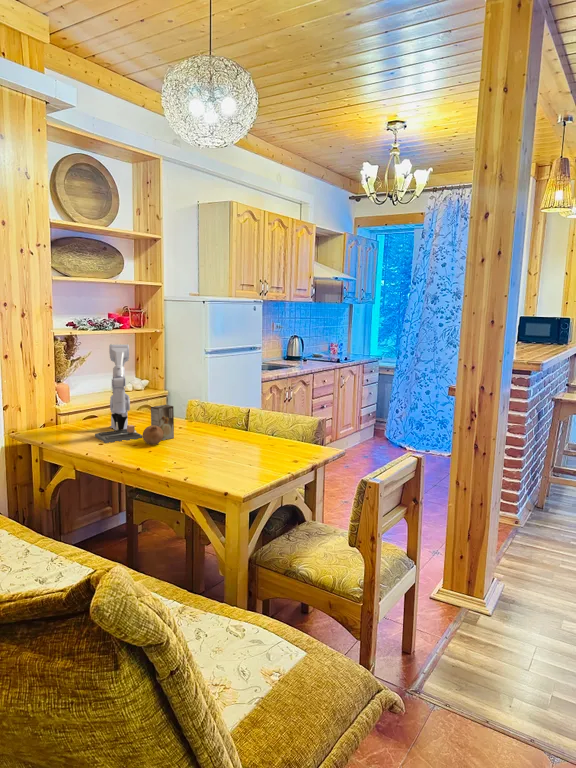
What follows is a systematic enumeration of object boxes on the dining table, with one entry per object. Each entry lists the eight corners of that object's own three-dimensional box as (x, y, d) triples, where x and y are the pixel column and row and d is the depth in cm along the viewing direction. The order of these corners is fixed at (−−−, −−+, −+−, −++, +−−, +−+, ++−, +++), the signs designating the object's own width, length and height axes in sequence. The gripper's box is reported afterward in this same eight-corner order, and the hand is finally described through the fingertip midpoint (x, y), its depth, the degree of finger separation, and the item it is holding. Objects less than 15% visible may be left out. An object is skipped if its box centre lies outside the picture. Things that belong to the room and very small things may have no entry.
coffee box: (165, 436, 266) (165, 404, 264) (174, 438, 262) (174, 405, 260) (150, 439, 259) (150, 406, 257) (159, 441, 255) (159, 408, 253)
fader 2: (127, 435, 259) (127, 425, 258) (132, 434, 260) (131, 424, 260) (129, 436, 256) (129, 426, 256) (134, 435, 258) (134, 426, 257)
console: (94, 436, 261) (94, 431, 261) (130, 432, 272) (130, 427, 272) (105, 443, 249) (105, 437, 249) (142, 438, 260) (142, 432, 260)
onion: (156, 452, 248) (157, 435, 242) (138, 445, 249) (139, 428, 244) (166, 440, 256) (167, 424, 250) (148, 434, 257) (149, 417, 252)
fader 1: (116, 431, 265) (115, 422, 265) (120, 431, 267) (120, 421, 266) (118, 433, 263) (118, 423, 262) (123, 432, 264) (122, 422, 263)
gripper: (105, 400, 266) (106, 426, 268) (116, 404, 254) (116, 432, 256) (119, 398, 270) (120, 425, 272) (130, 403, 259) (131, 430, 261)
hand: (119, 428), depth 264 cm, fingers closed on fader 1, 3 cm apart
